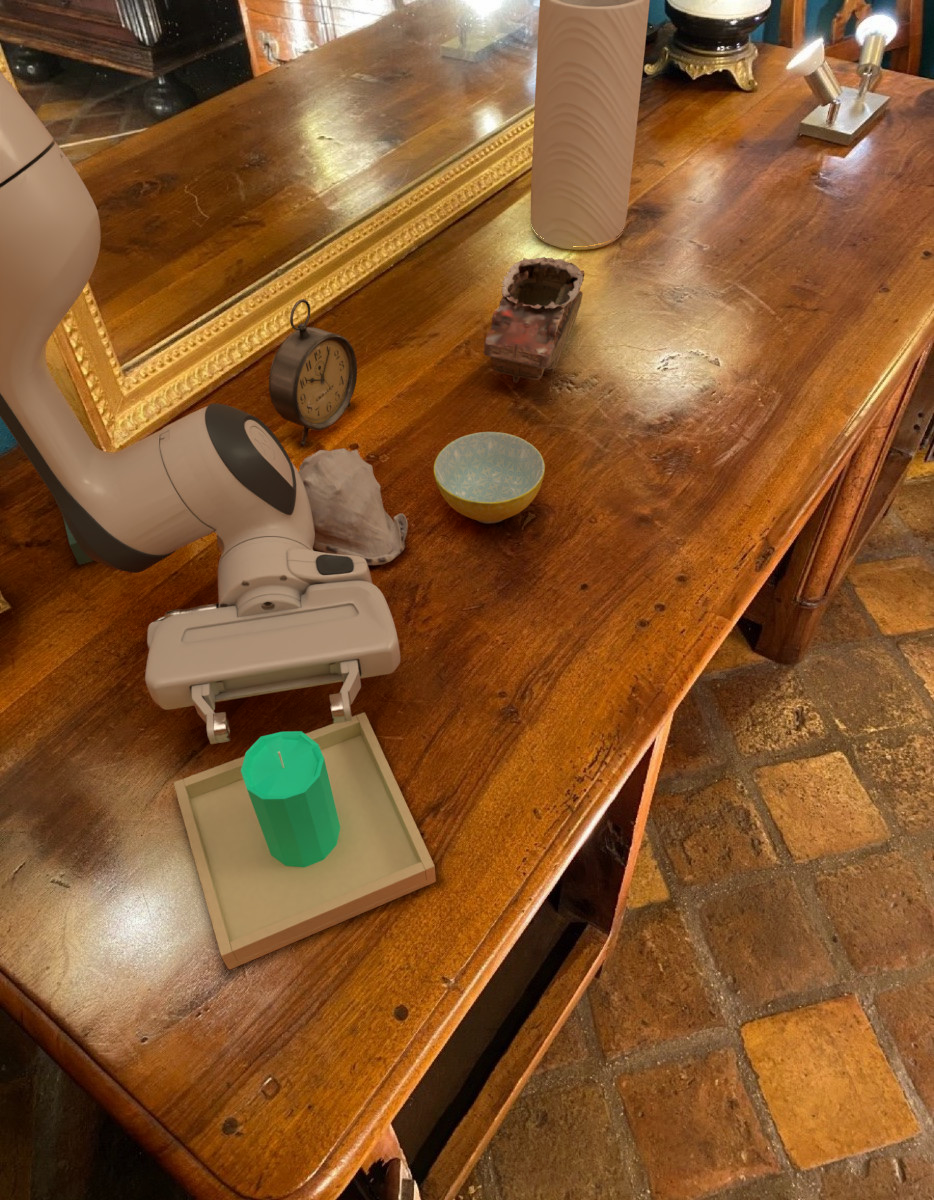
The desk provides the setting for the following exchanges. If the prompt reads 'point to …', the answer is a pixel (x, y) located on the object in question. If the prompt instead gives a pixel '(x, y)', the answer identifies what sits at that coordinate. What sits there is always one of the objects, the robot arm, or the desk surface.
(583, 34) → the vase
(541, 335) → the decorative box
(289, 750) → the candle
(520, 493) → the bowl
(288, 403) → the alarm clock
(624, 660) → the desk surface
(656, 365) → the desk surface
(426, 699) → the desk surface
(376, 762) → the tray
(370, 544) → the seashell
